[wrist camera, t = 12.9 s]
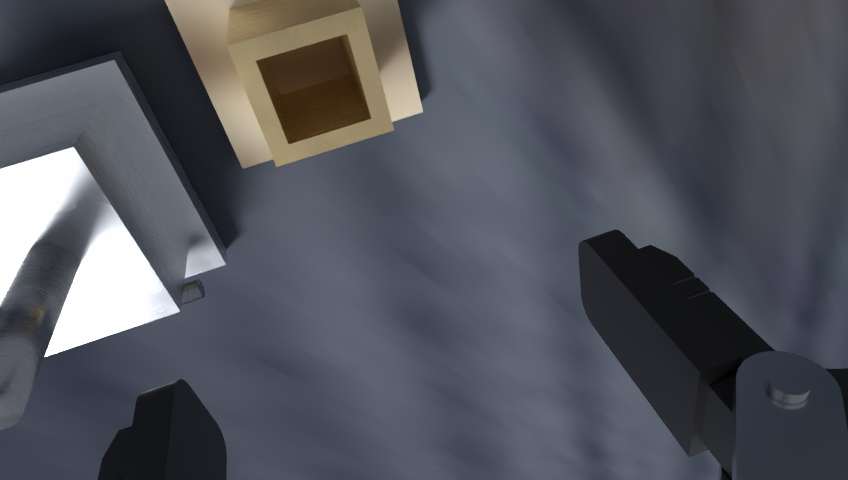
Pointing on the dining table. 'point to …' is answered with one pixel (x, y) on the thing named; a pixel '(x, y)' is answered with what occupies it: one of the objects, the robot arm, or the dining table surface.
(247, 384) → the dining table surface
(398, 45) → the beige pad
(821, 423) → the robot arm
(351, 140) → the collar
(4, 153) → the block
